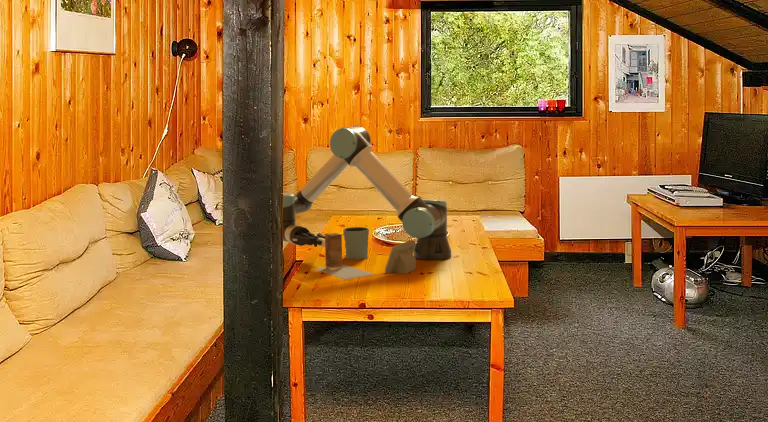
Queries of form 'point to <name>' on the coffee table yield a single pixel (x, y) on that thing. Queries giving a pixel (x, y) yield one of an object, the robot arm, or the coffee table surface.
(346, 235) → the grey green cup
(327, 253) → the walnut block
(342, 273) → the felt mat
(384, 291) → the coffee table surface
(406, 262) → the digital clock
